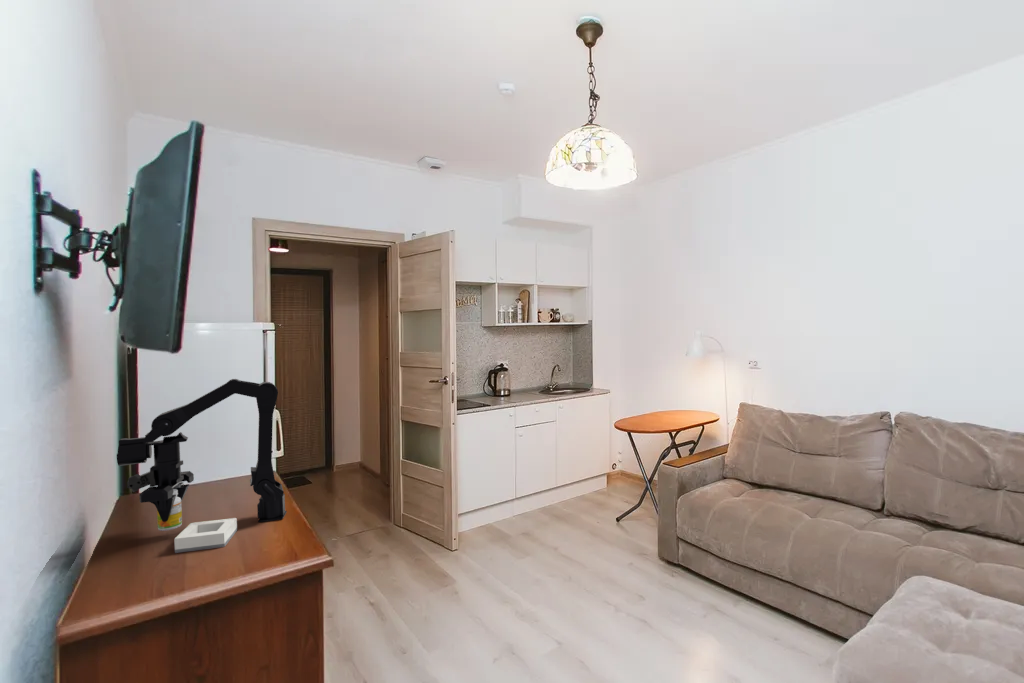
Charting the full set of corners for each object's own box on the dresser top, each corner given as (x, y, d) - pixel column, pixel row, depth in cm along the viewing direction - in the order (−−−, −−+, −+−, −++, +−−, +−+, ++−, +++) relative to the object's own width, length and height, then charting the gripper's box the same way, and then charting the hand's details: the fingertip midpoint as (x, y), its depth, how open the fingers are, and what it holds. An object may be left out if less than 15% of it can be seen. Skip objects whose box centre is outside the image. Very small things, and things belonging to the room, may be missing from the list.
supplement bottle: (153, 529, 130) (152, 492, 130) (175, 522, 135) (173, 487, 135) (164, 532, 128) (163, 495, 128) (186, 525, 133) (184, 489, 132)
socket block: (237, 530, 134) (236, 517, 134) (224, 546, 124) (224, 532, 124) (191, 535, 131) (191, 522, 131) (174, 553, 121) (174, 538, 121)
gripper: (148, 454, 138) (150, 509, 138) (113, 472, 120) (116, 535, 120) (193, 451, 141) (195, 505, 141) (165, 467, 123) (168, 529, 123)
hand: (169, 517), depth 131 cm, fingers closed on supplement bottle, 5 cm apart
